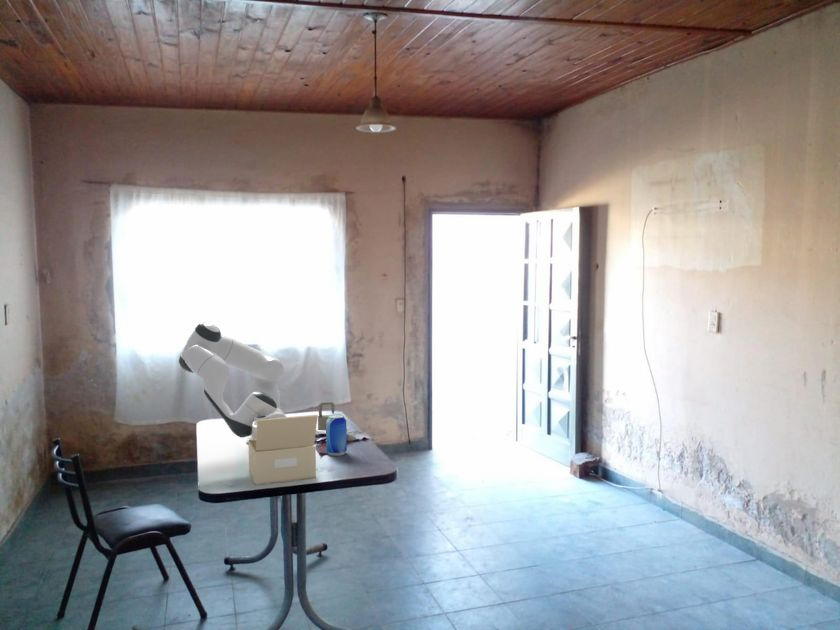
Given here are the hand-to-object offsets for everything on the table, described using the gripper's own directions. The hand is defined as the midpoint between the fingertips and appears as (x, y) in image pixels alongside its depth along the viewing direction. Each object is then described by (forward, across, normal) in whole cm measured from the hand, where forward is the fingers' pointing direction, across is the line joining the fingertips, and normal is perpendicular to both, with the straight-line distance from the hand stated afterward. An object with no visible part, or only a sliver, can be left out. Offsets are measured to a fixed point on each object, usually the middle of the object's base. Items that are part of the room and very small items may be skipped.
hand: (282, 433), depth 238 cm
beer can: (-32, -27, -19) cm, 45 cm away
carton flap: (+1, -1, 0) cm, 1 cm away
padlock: (-66, -30, -19) cm, 76 cm away
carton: (-11, -1, -19) cm, 22 cm away
